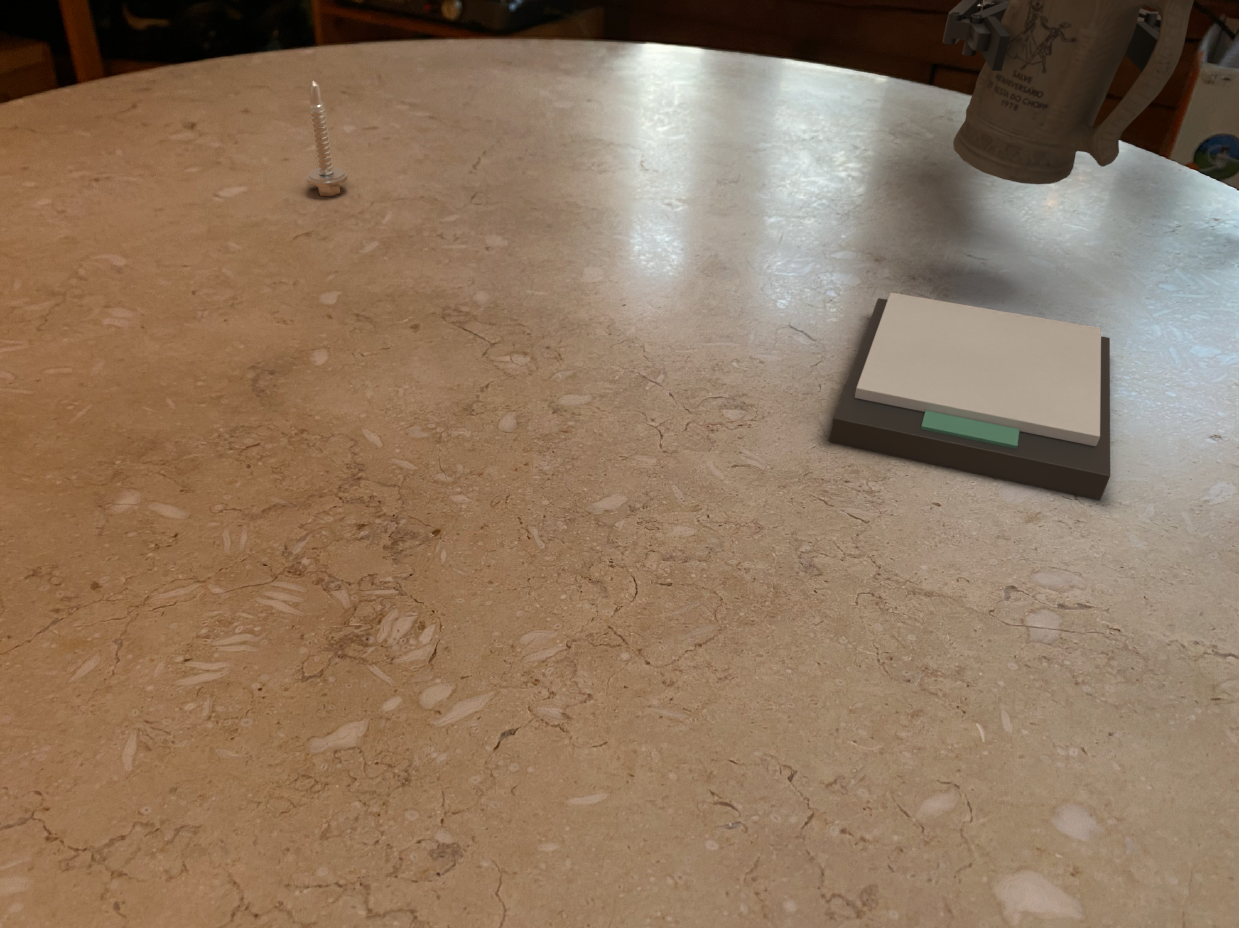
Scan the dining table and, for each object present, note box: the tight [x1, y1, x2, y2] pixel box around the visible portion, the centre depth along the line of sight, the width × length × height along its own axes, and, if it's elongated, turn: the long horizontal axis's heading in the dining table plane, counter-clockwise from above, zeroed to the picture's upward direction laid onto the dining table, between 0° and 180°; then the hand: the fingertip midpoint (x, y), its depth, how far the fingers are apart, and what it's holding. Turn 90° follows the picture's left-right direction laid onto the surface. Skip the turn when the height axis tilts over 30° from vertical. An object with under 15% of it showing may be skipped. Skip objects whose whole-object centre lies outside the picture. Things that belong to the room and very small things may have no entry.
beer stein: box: [952, 0, 1195, 185], centre depth 88 cm, size 15×11×20 cm
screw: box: [305, 80, 349, 198], centre depth 121 cm, size 13×5×5 cm
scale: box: [828, 292, 1111, 501], centre depth 87 cm, size 20×22×4 cm
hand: (1078, 56), depth 85 cm, fingers closed on beer stein, 11 cm apart
